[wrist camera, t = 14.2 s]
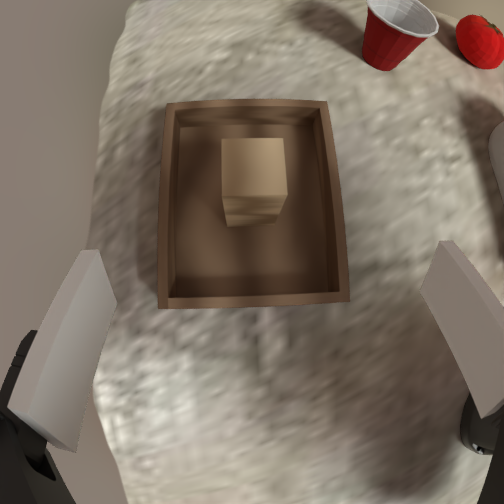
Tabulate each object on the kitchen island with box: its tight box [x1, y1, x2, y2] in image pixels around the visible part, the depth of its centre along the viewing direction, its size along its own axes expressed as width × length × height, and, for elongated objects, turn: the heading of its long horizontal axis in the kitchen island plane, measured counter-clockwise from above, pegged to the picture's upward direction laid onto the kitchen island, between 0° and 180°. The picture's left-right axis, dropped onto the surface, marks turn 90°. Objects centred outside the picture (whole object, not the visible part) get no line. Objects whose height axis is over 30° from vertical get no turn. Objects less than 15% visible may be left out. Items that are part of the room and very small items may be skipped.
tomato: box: [456, 15, 504, 69], centre depth 37 cm, size 12×12×11 cm
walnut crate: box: [157, 99, 350, 309], centre depth 32 cm, size 18×22×5 cm
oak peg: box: [222, 138, 288, 227], centre depth 29 cm, size 5×5×10 cm
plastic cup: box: [362, 0, 439, 71], centre depth 34 cm, size 11×11×12 cm
